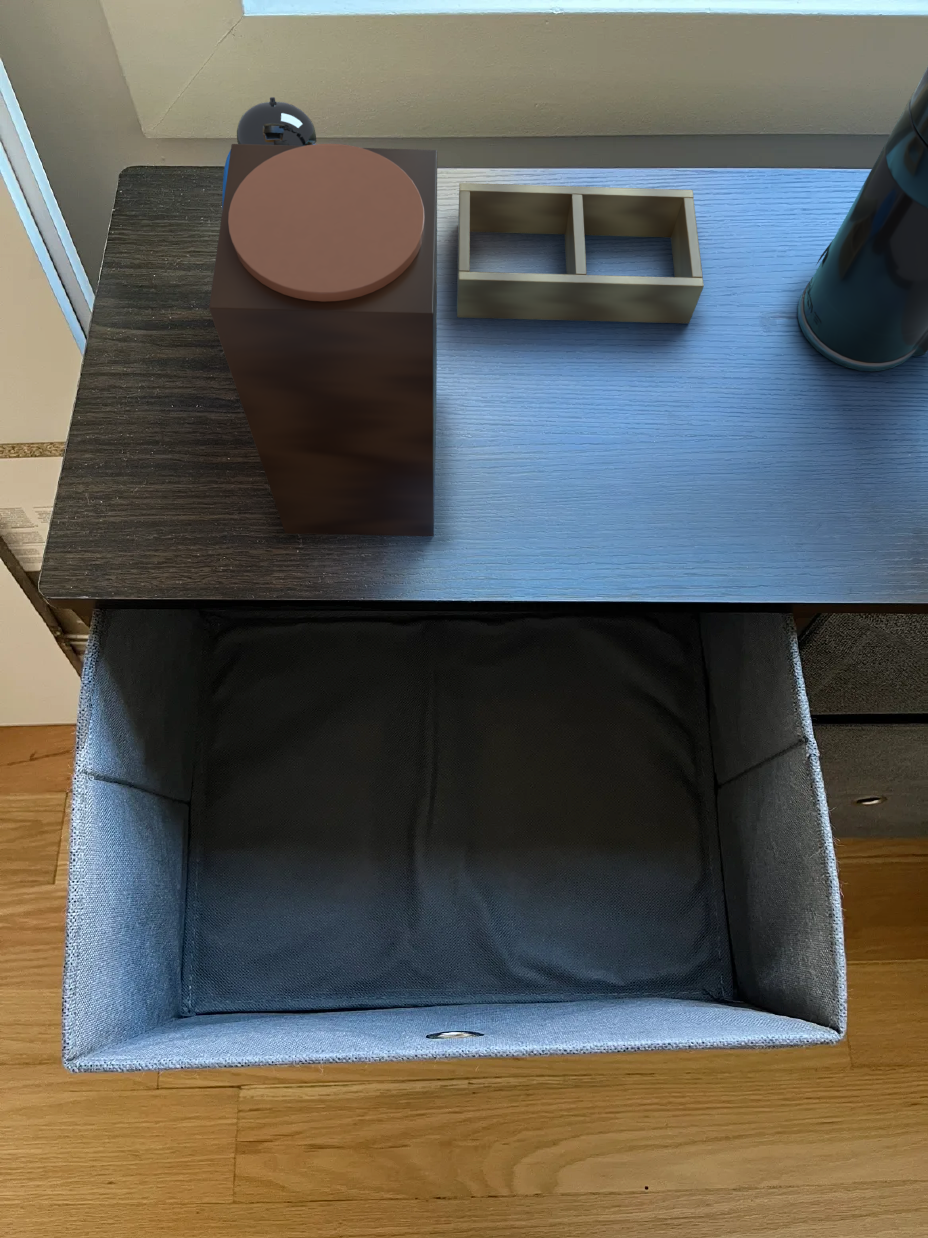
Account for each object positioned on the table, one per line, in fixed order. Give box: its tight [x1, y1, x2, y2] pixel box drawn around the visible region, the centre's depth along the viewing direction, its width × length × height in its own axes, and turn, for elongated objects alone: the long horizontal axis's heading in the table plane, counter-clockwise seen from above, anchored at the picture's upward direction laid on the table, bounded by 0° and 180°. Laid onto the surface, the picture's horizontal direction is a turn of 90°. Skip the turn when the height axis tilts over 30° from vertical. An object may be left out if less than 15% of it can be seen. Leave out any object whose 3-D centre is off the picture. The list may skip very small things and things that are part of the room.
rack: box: [456, 182, 705, 324], centre depth 67 cm, size 18×9×4 cm, turn 90°
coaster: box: [228, 143, 425, 302], centre depth 41 cm, size 9×9×1 cm
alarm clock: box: [221, 96, 317, 210], centre depth 60 cm, size 13×6×15 cm, turn 2°
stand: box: [208, 143, 438, 537], centre depth 52 cm, size 10×10×22 cm
